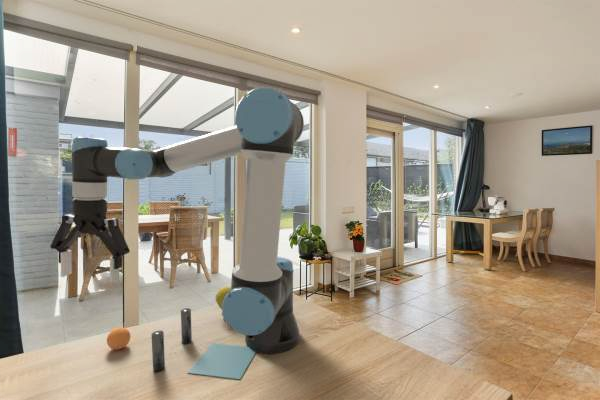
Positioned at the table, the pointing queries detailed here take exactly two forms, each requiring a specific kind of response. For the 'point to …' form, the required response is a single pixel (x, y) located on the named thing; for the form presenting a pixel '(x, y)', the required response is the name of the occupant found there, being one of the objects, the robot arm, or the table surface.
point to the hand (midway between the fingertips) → (90, 277)
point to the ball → (118, 338)
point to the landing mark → (223, 361)
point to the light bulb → (222, 296)
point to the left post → (158, 351)
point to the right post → (186, 326)
